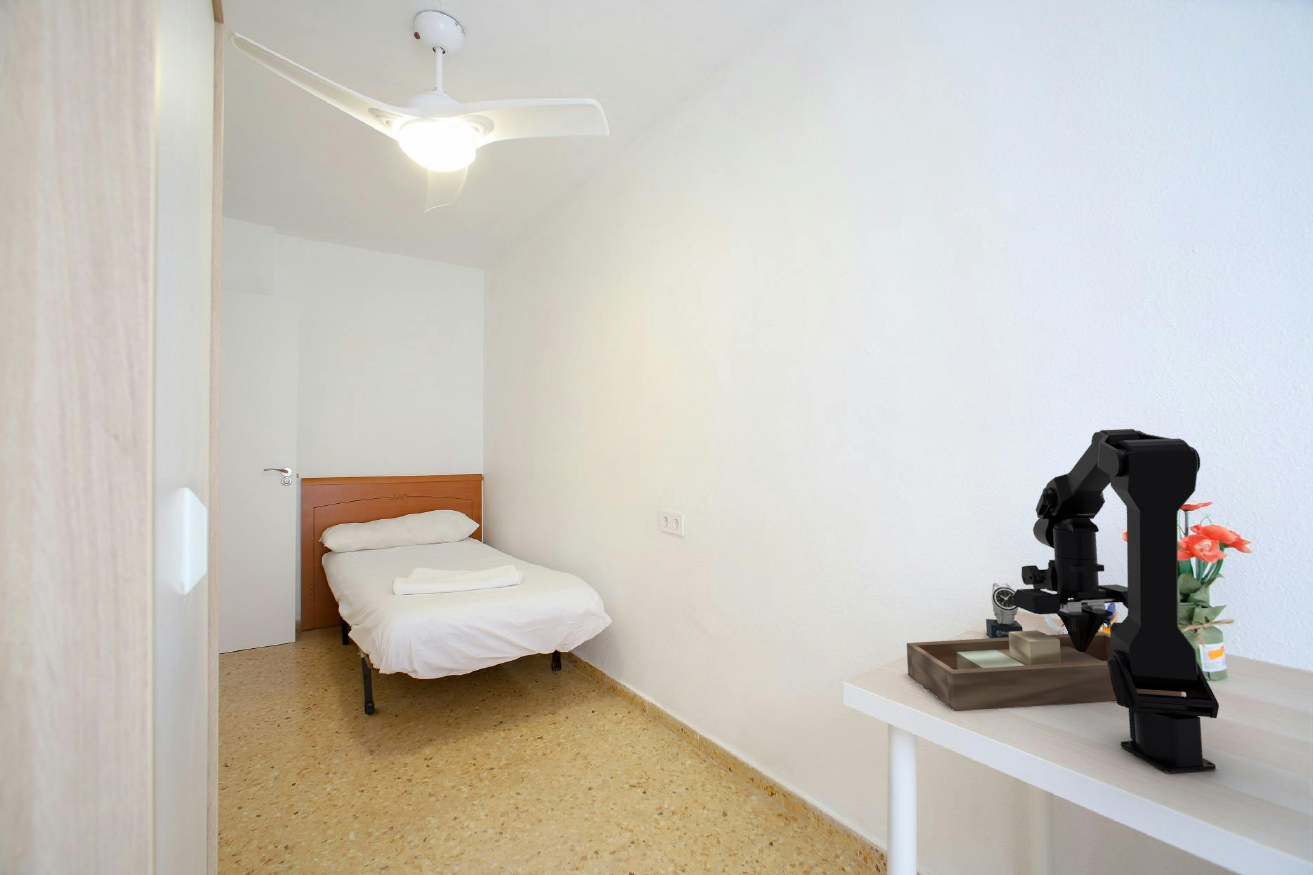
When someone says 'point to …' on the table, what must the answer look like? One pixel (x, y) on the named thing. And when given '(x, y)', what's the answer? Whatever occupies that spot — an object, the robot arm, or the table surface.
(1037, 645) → the maple block
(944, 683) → the tray
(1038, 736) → the table surface
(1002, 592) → the watch
